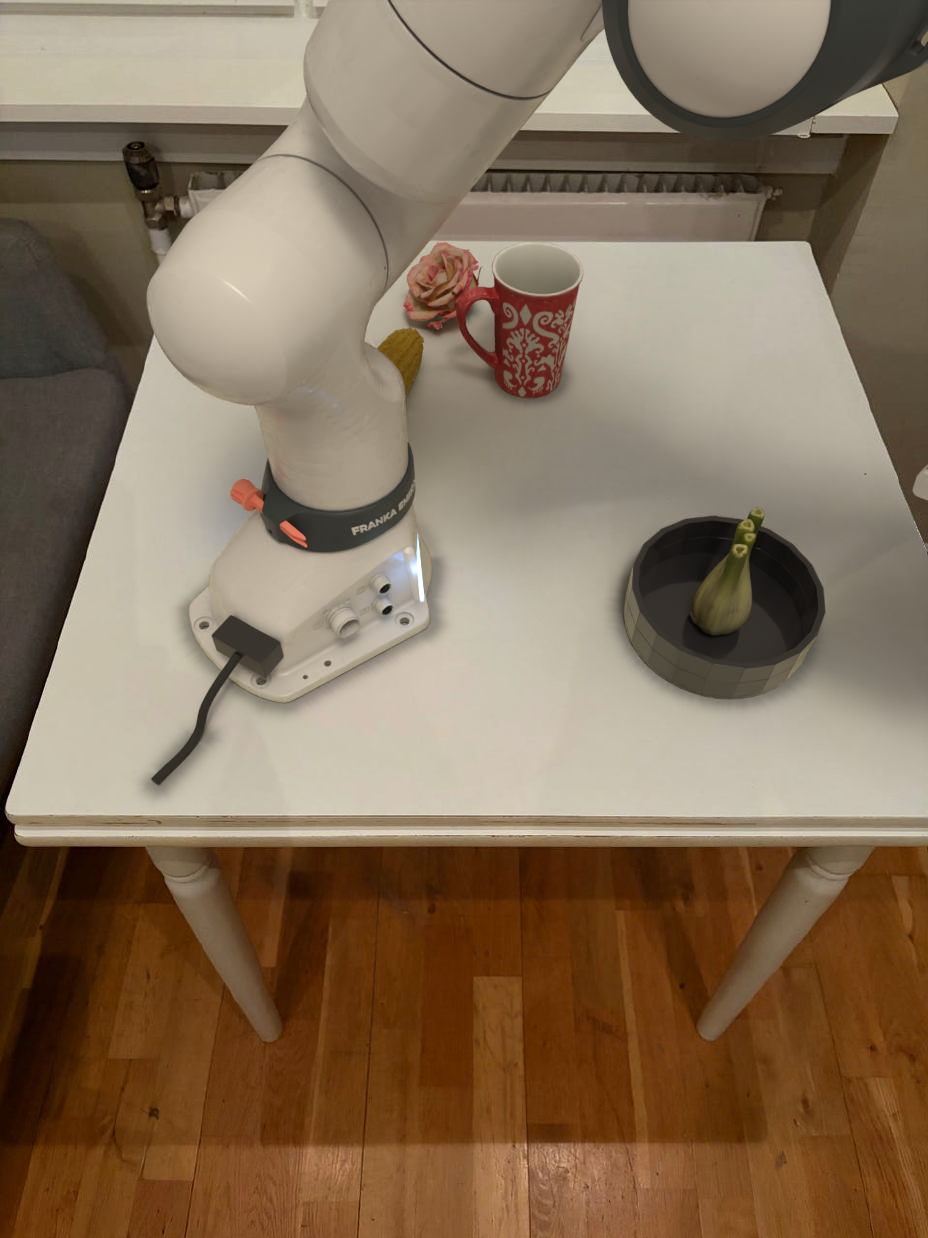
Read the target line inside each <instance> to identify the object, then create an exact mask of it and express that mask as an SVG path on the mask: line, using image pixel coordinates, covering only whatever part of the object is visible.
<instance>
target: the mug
mask: <svg viewBox="0 0 928 1238" xmlns="http://www.w3.org/2000/svg"><path fill="white" fill-rule="evenodd" d="M491 272H492V275H493V286H490V287H489V286H478V287H473V288H471V289H469V290H467V291H466V292H464V293H463V294H462V295H461V297H460V298H459V301H458V303H457V308H456V316H455V318H456V323H457V327H458V329H459V332H460V334H461V336H462V337H463V339H464V340H465V342H466V343H467V345H468V346H469V348H470V349H472V351H473V352H474V353H475V354H476V355H477V356H478V357H479V358H480V359H481V360H482V361H483V362H485V363H486V364H487V365H488V366H489V367H490V368H491V369H493V371H494V372H493V373H494V379H495V381H496V383H497V385H498V386H499V387H500V388H501V390H503V391H505V392H506V393H508V394H510V395H512V396H516V397H519V398H526V399H530V398H532V399H533V398H535V399H536V398H540V397H544V396H547V395H549V394H551V393H552V392H554V391H555V390H556V389H557V388H558V386H559V384H560V382H561V379H562V374H563V368H564V364H565V358H566V354H567V349H568V344H569V340H570V333H571V330H572V324H573V318H574V314H575V310H576V305H577V299H578V294H579V289H580V285H581V284H582V282H583V279H584V267H583V264H582V262H581V260H580V259H579V257H577V256H576V255H575V254H574V253H573V252H571V251H570V250H568V249H567V248H564V247H563V246H560V245H557V244H554V243H549V242H542V241H526V242H520V243H515V244H512V245H509V246H507V247H504V248H503V249H501V250H500V251H499V252H498V253H497V254H496V255H495V256H494V257H493V260H492V263H491ZM479 301H486V302H487V303H488V304H489V306H490V309H491V311H492V313H493V316H494V317H493V318H494V319H493V321H494V323H493V324H494V325H493V327H494V330H493V331H494V332H493V333H494V335H493V336H494V350H493V351H488V350H487V349H486V348H484V347H483V346H482V345H481V344H480V343H479V342H478V341H477V340H476V339H475V338H474V337H473V336H472V334H471V333H470V331H469V329H468V327H467V314H468V312H469V311H468V309H469V307H470V306H471V305H472V306H473V304H475V303H476V302H479Z"/></svg>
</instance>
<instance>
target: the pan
mask: <svg viewBox="0 0 928 1238" xmlns="http://www.w3.org/2000/svg"><path fill="white" fill-rule="evenodd" d="M744 520H745V519H742V518H738V517H728V516H721V515H706V516H698V517H697V516H696V517H687V518H684V519H682V520H679V521H676V522H673V523H671V524H669V525H666V526H664V527H662V528H660V529H659V530H658V531H657V532H656V533H654V534H653V535H652V536H651V537H650V538H649V539H648V540H646V541H645V542H644V543H643V544H642V546H641V548H640V550H639V552H638V554H637V556H636V557H635V559H634V562H633V564H632V568H631V572H630V576H629V579H628V584H627V588H626V592H625V596H624V597H625V598H624V605H623V617H624V618H623V620H624V627H625V631H626V633H627V636H628V639H629V641H630V644H631V645H632V647H633V649H634V651H635V652H636V653H637V654H638V656H639V658H640V659H641V660H642V661H643V662H644V663H645V664H646V665H647V667H648V668H650V669H651V670H652V671H653V672H654V673H655V674H656V675H657V676H659V677H660V678H662V679H663V680H665V681H667V682H668V683H670V684H671V685H673V686H675V687H677V688H679V689H680V690H681V689H682V690H684V691H686V692H689V693H691V694H695V695H698V696H702V697H706V698H713V699H720V700H721V699H722V700H741V699H742V700H743V699H749V698H753V697H757V696H759V695H763V694H766V693H768V692H770V691H773V690H775V689H776V688H778V687H779V686H781V685H782V684H784V683H785V682H786V681H787V680H789V678H791V677H792V676H793V674H795V672H796V671H797V670H798V669H799V667H800V666H801V665H802V664H803V662H804V660H805V658H806V657H807V654H808V653H809V651H810V649H811V647H812V646H813V644H814V643H815V640H816V639H817V637H818V635H819V632H820V630H821V627H822V624H823V621H824V617H825V616H826V613H827V612H826V611H827V610H826V601H825V600H826V599H825V588H824V585H823V584H822V582H821V580H820V578H819V575H818V573H817V571H816V570H815V567H814V566H813V564H812V562H810V560H809V559H807V557H806V556H805V555H804V554H803V553H802V551H801V550H799V548H797V547H796V545H794V543H792V542H791V541H789V540H788V539H786V538H785V537H783V536H782V535H780V534H778V533H777V532H775V531H773V530H772V529H771V528H768V527H766V526H763V525H761V527H760V529H759V531H758V534H757V536H756V540H755V542H754V544H753V547H752V549H751V552H750V556H749V572H750V581H751V590H752V605H751V611H750V615H749V617H748V619H747V621H746V622H745V623H744V625H743V626H742V627H741V628H740V629H738V630H737V631H735V632H732V633H730V634H726V635H722V634H721V635H717V636H712V635H709V634H707V633H704V632H703V631H702V630H701V629H700V628H699V627H698V626H697V625H696V624H695V623H694V622H693V621H692V619H691V616H690V606H691V603H692V602H693V598H694V596H695V594H696V591H697V590H698V588H699V587H700V585H701V584H702V582H703V581H704V580H705V579H706V577H707V576H708V575H709V574H710V573H711V571H712V570H713V569H714V568H715V567H716V566H717V565H718V564H719V563H720V562H721V561H722V560H723V559H724V558H725V557H726V556H727V555H728V554H729V553H730V550H731V547H732V544H733V540H734V537H735V533H736V529H737V526H738V524H740V523H741V522H742V521H744Z"/></svg>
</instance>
